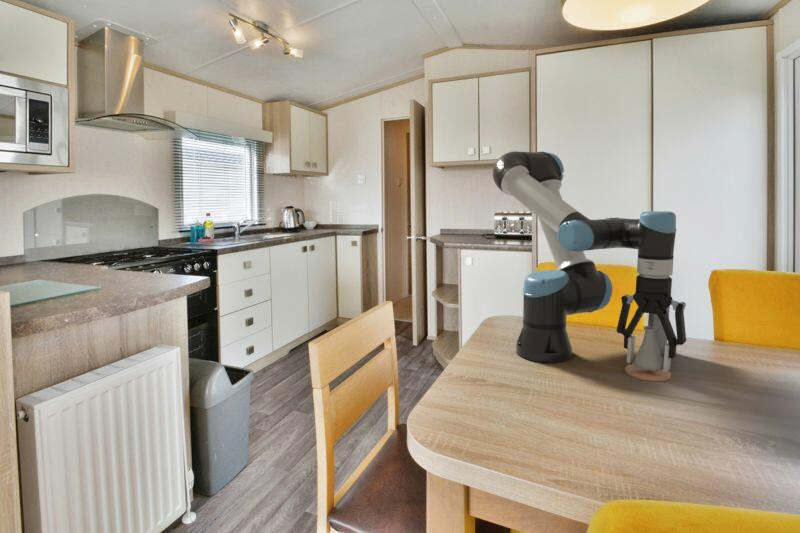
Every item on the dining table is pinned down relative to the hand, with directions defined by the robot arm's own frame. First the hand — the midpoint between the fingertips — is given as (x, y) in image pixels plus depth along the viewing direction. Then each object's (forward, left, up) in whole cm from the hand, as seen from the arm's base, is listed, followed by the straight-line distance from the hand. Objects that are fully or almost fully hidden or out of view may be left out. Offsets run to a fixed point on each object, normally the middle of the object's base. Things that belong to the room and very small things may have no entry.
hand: (647, 365), depth 111 cm
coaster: (0, 0, -2) cm, 2 cm away
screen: (-2, +14, -2) cm, 14 cm away
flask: (0, 0, -1) cm, 1 cm away
